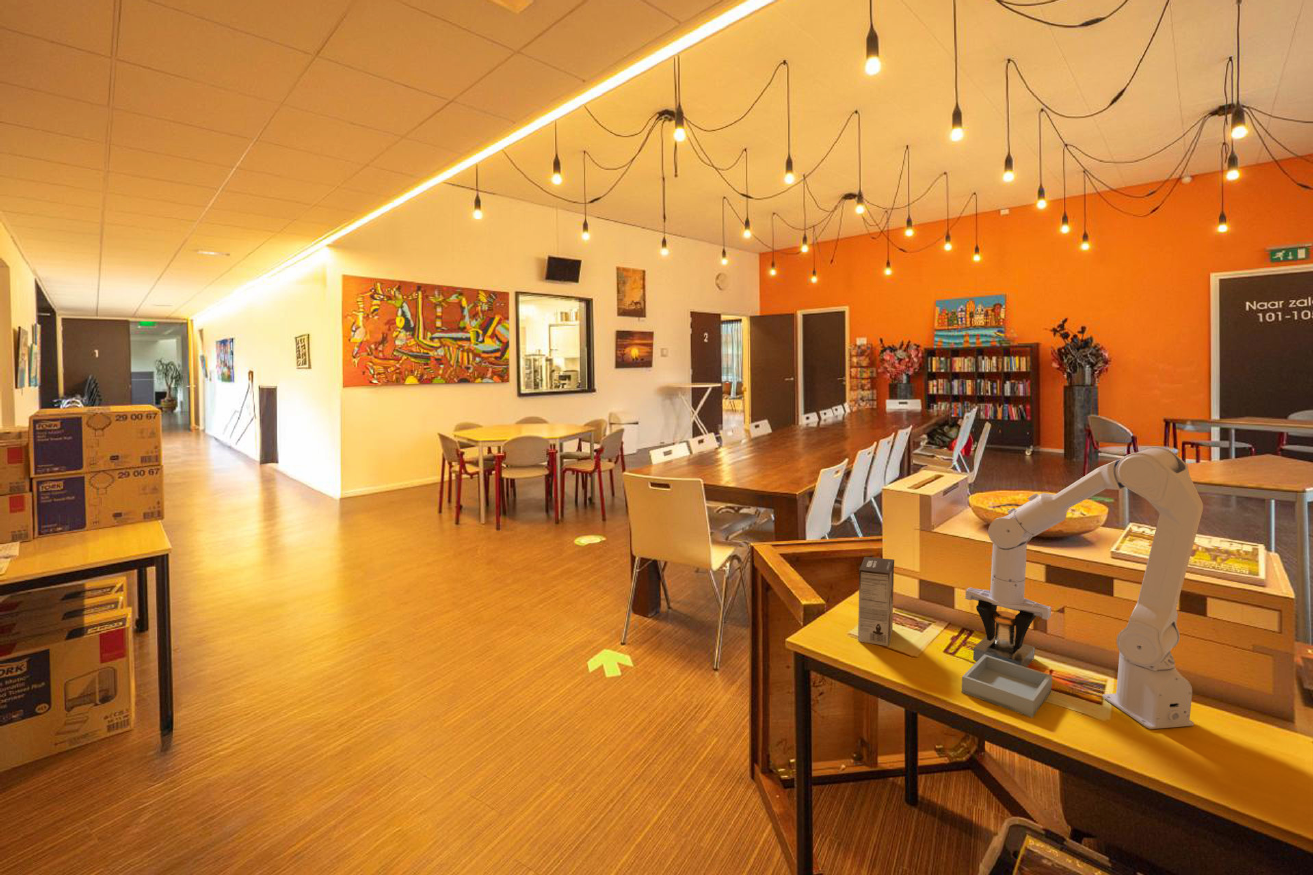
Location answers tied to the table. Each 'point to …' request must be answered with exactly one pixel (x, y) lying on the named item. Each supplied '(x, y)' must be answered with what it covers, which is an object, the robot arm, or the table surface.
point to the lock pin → (1004, 631)
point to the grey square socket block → (1018, 657)
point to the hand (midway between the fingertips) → (1004, 642)
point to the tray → (1007, 685)
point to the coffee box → (876, 600)
